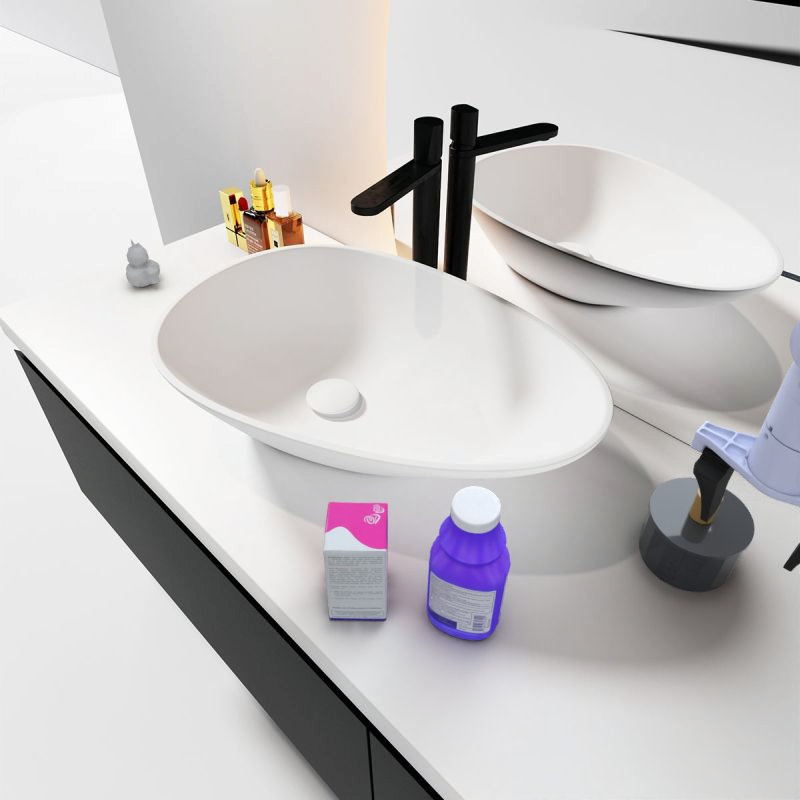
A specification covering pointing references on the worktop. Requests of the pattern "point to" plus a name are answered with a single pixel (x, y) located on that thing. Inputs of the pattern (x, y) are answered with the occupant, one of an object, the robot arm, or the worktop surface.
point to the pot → (682, 563)
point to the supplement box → (356, 561)
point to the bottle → (469, 567)
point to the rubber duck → (141, 267)
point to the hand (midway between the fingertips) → (748, 538)
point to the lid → (700, 521)
